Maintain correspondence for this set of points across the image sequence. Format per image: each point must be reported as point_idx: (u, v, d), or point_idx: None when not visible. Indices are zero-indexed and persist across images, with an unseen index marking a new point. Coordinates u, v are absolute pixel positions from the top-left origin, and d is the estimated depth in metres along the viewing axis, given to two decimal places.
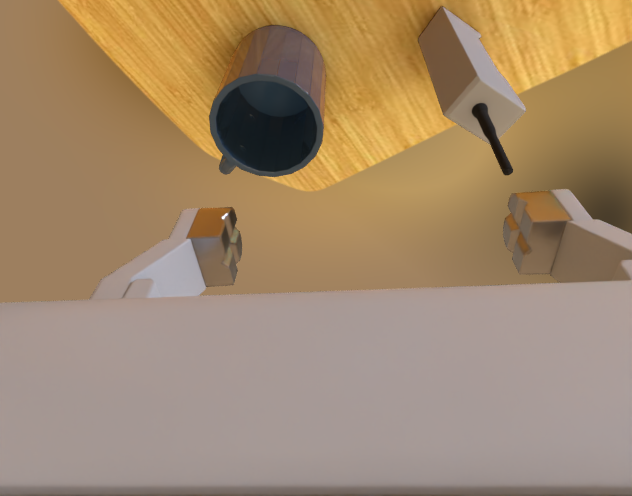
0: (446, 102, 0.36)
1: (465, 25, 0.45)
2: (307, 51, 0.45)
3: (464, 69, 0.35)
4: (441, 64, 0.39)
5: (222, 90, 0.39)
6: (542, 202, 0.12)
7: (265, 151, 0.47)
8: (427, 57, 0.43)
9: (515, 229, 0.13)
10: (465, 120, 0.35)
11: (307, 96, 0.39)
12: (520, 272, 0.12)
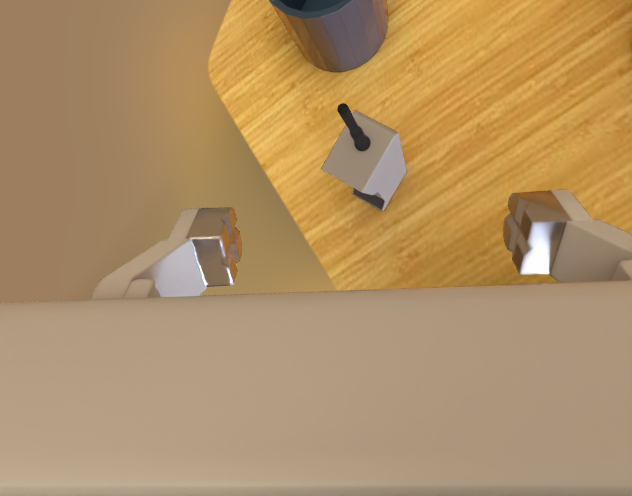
0: None
1: (393, 192, 0.47)
2: (372, 37, 0.46)
3: None
4: None
5: None
6: (542, 202, 0.12)
7: None
8: None
9: (515, 229, 0.13)
10: (350, 132, 0.33)
11: None
12: (520, 272, 0.12)
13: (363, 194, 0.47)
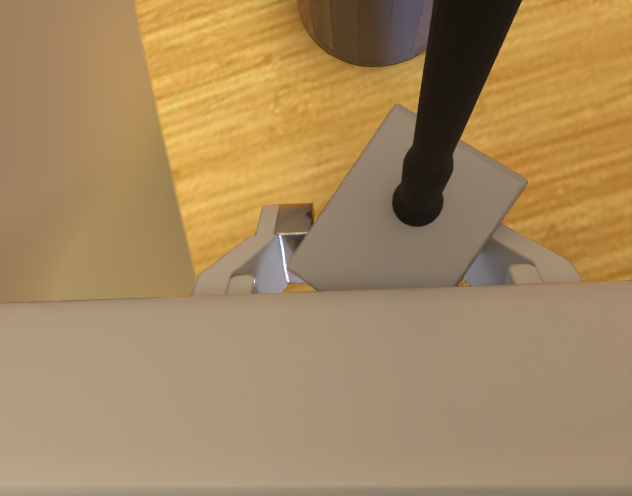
0: None
1: None
2: (429, 19, 0.25)
3: None
4: None
5: None
6: None
7: None
8: None
9: None
10: (381, 165, 0.11)
11: None
12: None
13: None
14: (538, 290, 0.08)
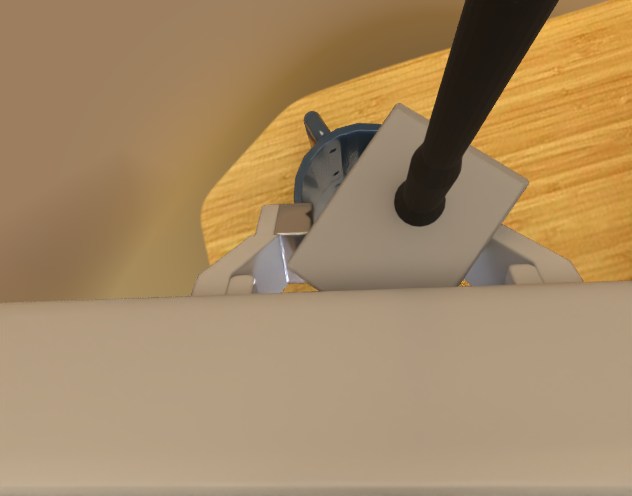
0: None
1: None
2: None
3: None
4: None
5: None
6: None
7: (313, 176, 0.37)
8: None
9: None
10: (383, 164, 0.11)
11: None
12: None
13: None
14: (538, 290, 0.08)
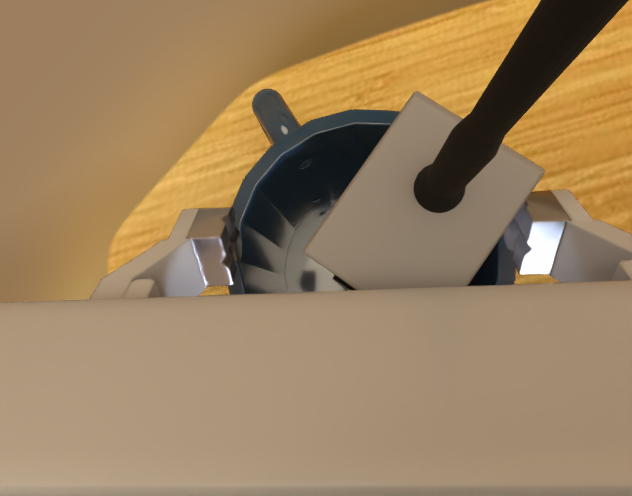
0: None
1: None
2: None
3: None
4: None
5: None
6: (542, 202, 0.12)
7: (272, 209, 0.20)
8: None
9: (515, 229, 0.13)
10: (402, 151, 0.11)
11: None
12: (520, 272, 0.12)
13: None
14: (538, 290, 0.08)
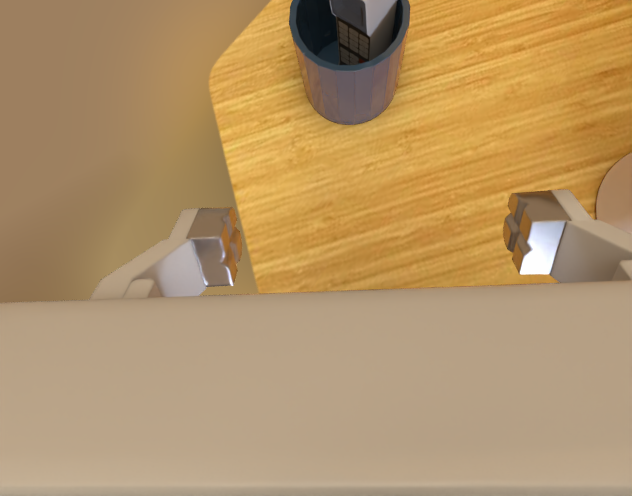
0: None
1: None
2: (377, 103, 0.47)
3: None
4: None
5: None
6: (542, 202, 0.12)
7: (306, 18, 0.43)
8: None
9: (515, 228, 0.13)
10: None
11: (372, 64, 0.39)
12: (520, 272, 0.12)
13: None
14: (538, 290, 0.08)
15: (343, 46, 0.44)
